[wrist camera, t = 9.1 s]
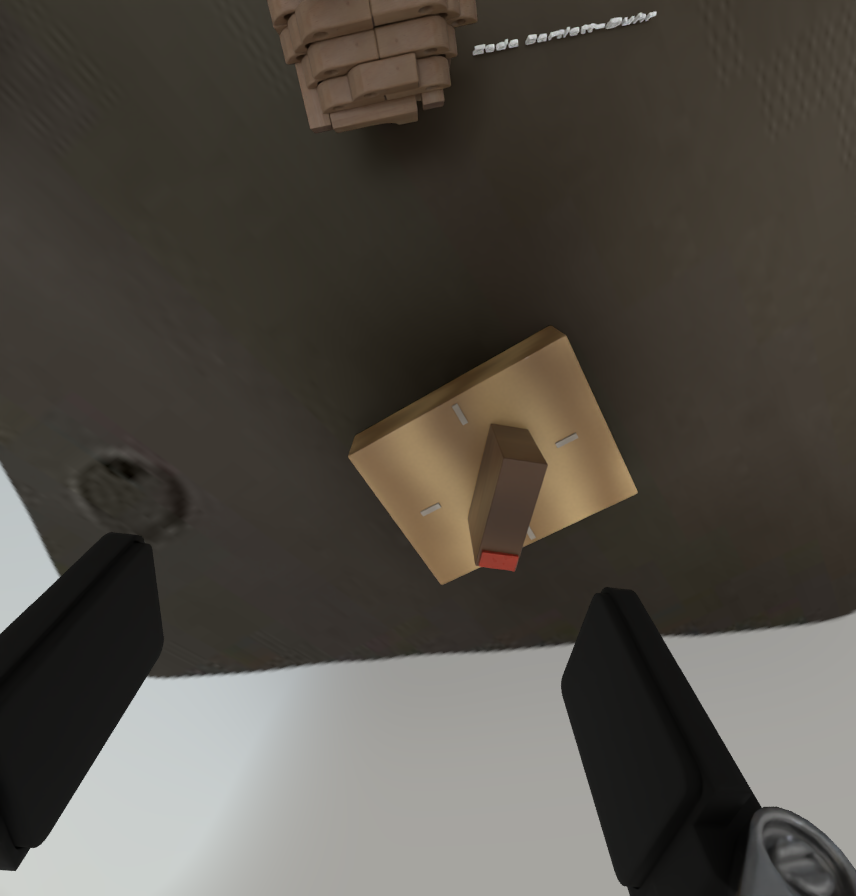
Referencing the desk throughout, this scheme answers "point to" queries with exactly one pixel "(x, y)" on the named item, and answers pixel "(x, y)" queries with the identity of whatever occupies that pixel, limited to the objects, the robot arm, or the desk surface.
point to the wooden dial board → (463, 442)
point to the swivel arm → (505, 496)
